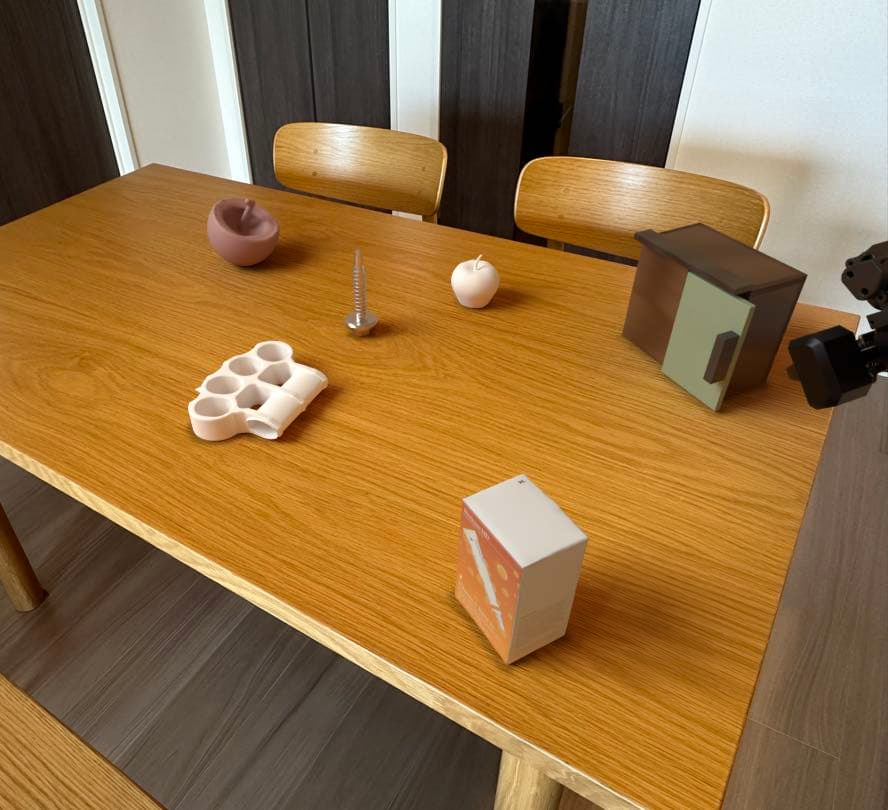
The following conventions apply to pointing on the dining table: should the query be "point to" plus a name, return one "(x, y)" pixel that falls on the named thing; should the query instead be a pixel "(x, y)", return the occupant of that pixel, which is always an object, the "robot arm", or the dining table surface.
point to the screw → (360, 301)
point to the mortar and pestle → (242, 231)
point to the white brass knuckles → (255, 394)
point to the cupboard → (728, 269)
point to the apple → (475, 283)
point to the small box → (518, 566)
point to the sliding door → (706, 339)
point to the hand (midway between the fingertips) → (807, 367)
